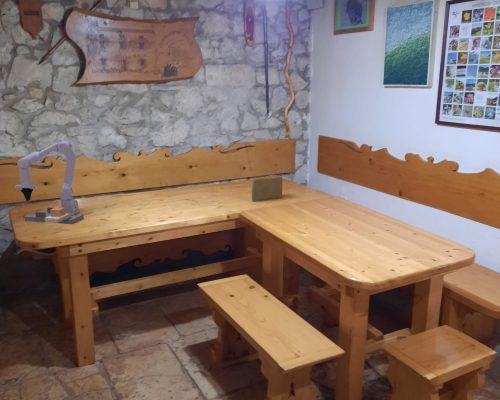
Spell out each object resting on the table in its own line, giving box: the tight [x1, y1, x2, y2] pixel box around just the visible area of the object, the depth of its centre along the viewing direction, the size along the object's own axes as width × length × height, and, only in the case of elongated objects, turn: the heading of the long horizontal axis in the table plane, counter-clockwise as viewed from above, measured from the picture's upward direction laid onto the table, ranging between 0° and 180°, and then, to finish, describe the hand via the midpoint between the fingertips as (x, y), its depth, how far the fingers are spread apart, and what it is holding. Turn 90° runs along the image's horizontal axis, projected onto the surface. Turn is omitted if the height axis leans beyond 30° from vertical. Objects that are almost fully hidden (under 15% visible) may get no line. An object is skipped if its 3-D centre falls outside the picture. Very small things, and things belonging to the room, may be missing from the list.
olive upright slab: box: [251, 174, 283, 202], centre depth 333 cm, size 22×10×15 cm, turn 127°
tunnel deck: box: [23, 206, 85, 225], centre depth 294 cm, size 32×11×6 cm, turn 74°
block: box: [50, 206, 66, 217], centre depth 294 cm, size 6×6×4 cm
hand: (28, 200), depth 302 cm, fingers closed
